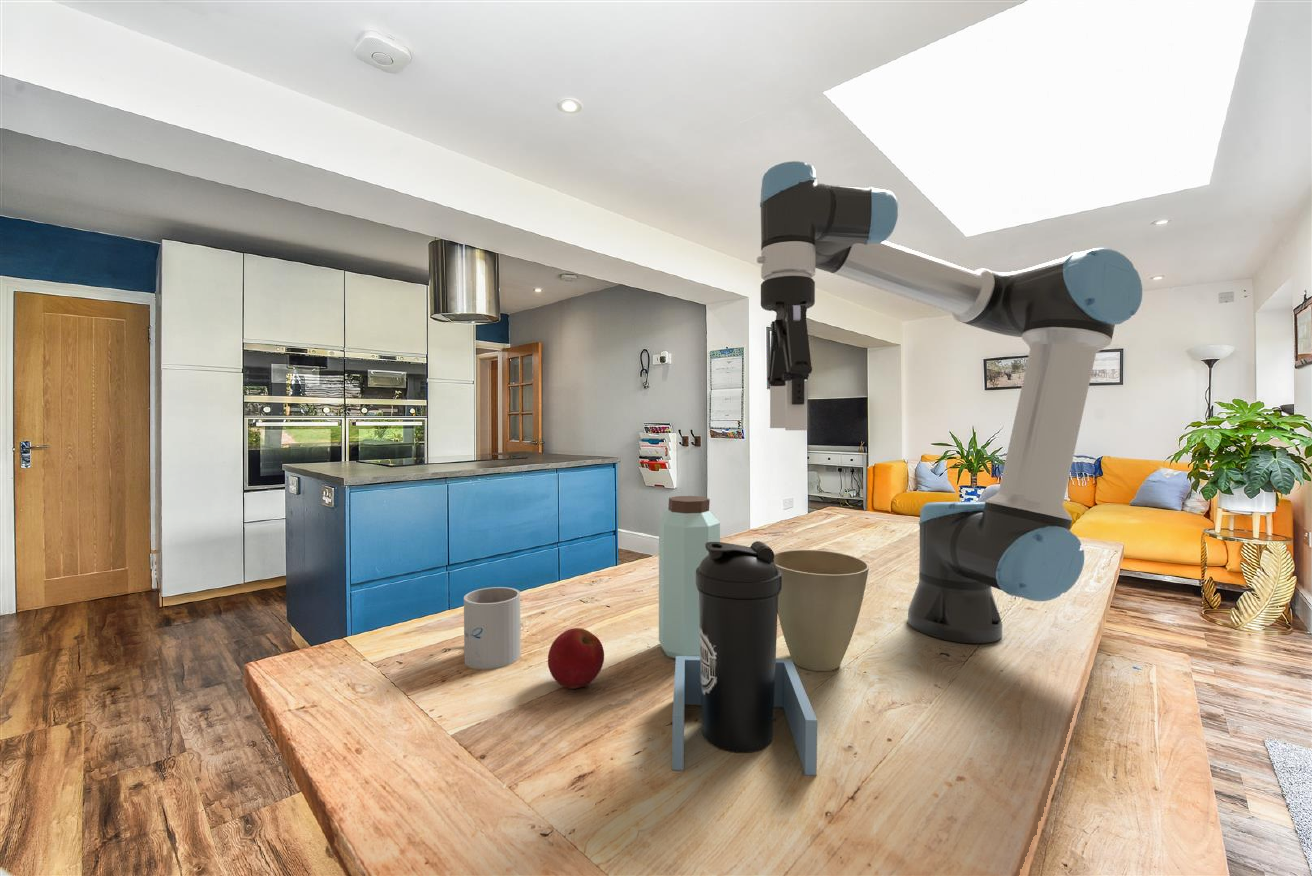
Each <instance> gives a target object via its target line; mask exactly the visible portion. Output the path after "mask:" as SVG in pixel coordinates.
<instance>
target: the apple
mask: <svg viewBox="0 0 1312 876" xmlns="http://www.w3.org/2000/svg"><path fill="white" fill-rule="evenodd" d="M604 662H605V650H604V647H603V644H602V642H601V640H600V639H599V638H598V636H596V635H595V634H593V633H592V632H591V631H589V630H587V629H585V628H581V627H573V628H569V629H567V630H565V631H563V632H561V633H560V634H559V635H558V636H557V637H556V638H555V639H554V641H553V642H552V644H551V646H550V648H549V651H548V655H547V666H548V670H549V672H550V674H551V676H552V678H553V679H554V681H556V683H558V684H559V685H561V686H562V687H565V688H567V689H571V690H572V689H573V690H574V689H575V690H576V689H580V688H583V687H586V686H587V685H589V684H591V682H593V681H594V680H595V679H596V678H597V676H598V675H599V674H600V672H601V670H602V668H603V665H604Z"/></svg>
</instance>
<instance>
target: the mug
mask: <svg viewBox="0 0 1312 876" xmlns="http://www.w3.org/2000/svg"><path fill="white" fill-rule="evenodd" d="M521 620H522V619H521V592H520V590H519V589H516V588H514V587H505V586H498V587H497V586H494V587H485V588H480V589H475V590H473V591H470V592H468V593H467V594H465V595H464V596H463V638H464V639H463V642H464V643H463V647H464V649H463V651H464V660H463V661H464V664H465V665H466V667H467V666H468V668H471V669H475V670H496V669H501V668H505V667H508V666H510V665H512V664H515V662H518V660H519V659H520V658H521V656H522V655H521V654H522V649H521V648H522V647H521V646H522V645H521V644H522V642H521V641H522V639H521V637H522V636H521V635H522V633H521V632H522V631H521Z"/></svg>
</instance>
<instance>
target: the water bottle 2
mask: <svg viewBox="0 0 1312 876" xmlns="http://www.w3.org/2000/svg"><path fill="white" fill-rule="evenodd" d="M705 548H706V550H707V551H708V552H709V554H708V556H706V557H705V558H704V559H703V560H702V562H701V563H700V566H699V567H698V568H697V569H696V586H697V590H698V591H699V619H700V624H699V632H700V633H699V636H700V662H701V665H700V675H701V698H702V705H701V726H702V727H701V730H702V731H701V732H702V735H703V737H704V739H705V740H706V741H707V742H708V743H709V744H710V745H712V746H713V747H714V748H715V747H716V748H718V749H721V750H723V751H727V752H730V753H731V752H732V753H736V754H737V753H738V754H739V753H741V754H742V753H743V754H746V753H754V752H758V751H761V750H763V749H765V748H767V747H768V746H769V745H770V744H771V743H772V741H773V737H774V717H775V716H774V714H775V712H774V711H775V707H774V692H775V666H776V658H777V636H778V595H779V594H780V591H781V588H782V573H781V571H780V570H778V568H777V566H776V564H775V563H774V554H775V552H774V551H773V550H772V548H771V547H770V546H768V545H767V544H766V543H764V542H763V541H759V540H756V541H754V542H753V543H751V545H750V546H748V545H747V546H746V545H741V544H735V543H729V542H723V541H720V542H707V543H706V544H705Z"/></svg>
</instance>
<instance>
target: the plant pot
mask: <svg viewBox="0 0 1312 876" xmlns="http://www.w3.org/2000/svg"><path fill="white" fill-rule="evenodd" d="M774 563H775V564H776V566H777V568H778V570H780V571H781V573H782V588H781V591H780V594H779V595H778V614H777V618H778V619H779V620H778V622H779V624H780V628H781V631H782V635H783V638H784V641H785V645H786V647H787V650H788V653H789V655H790V659H792V661H793V664H794V665H796V666H799V667H800V668H803V669H806V670H809V671H815V672H829V671H833V670H836V669H838V668H839V667H840V665H841V664H842V662H843V659H844V657H845V655H846V653H847V650H848V647H849V645H850V643H851V640H852V637H853V634H854V632H855V628H856V626H857V622H858V618H859V616H860V611H861V608H862V603H863V600H864V595H865V591H866V585H867V581H868V574H869V570H870V569H869V568H870V565H869V563H868V562H866V561H865V560H864V559H861V558H859V557H856V556H854V555H853V556H852V555H849V554H845V553H842V552H836V551H830V550H829V551H828V550H822V549H821V550H820V549H791V550H790V549H789V550H783V551H778V552H774Z"/></svg>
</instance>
